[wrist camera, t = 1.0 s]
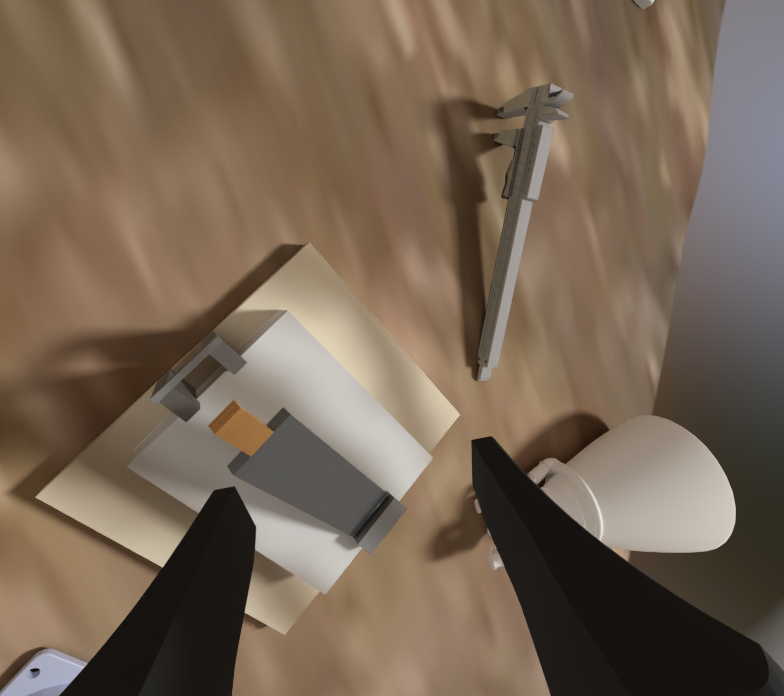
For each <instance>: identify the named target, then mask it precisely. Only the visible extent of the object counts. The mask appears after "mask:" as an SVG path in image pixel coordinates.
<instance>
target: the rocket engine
mask: <svg viewBox="0 0 784 696" xmlns="http://www.w3.org/2000/svg"><path fill="white" fill-rule="evenodd" d="M527 475H528V477H529V478H530V479H531V480H532V481H533V482H534V483H535V484H538V483H539V482H540V481H541V480H542V479H543V478H544V477H545V484H544V486H543V487H541V489H542V490H543V491H544V492H545V493H546V494H547V495H548V496H549V497H550V498H551V499H552V500H553V501H554V502H555V503H556V504H557V505H558V506H560V507H561V508H562V509H563V510H564V511H565V512H566V513H567V514H568V515H570V516H571V517H572V518H573V519H574V520H575V521H577V522H578V523H579V524H580V525H581V526H582V527H584V528H585V529H586V530H587V531H588V532H590V533H591V534H592V535H593V536H595V537H596V538H597V539H598V540H600V541H601V542H602V543H603V544H605V545H606V546H607V547H609V548H615V549H623V550H634V551H647V552H701V551H708V550H712V549H715V548H718V547H719V546H721V545H722V544H724V543H725V542H726V541H727V539H728V538H729V537H730V535H731V534H732V531H733V527H734V524H735V511H736V507H735V502H734V497H733V492H732V489H731V487H730V484H729V482H728V479H727V477H726V475H725V473H724V471H723V470H722V468H721V466H720V464H719V463H718V461H717V460H716V459H715V457H714V456H713V455H712V453H711V452H710V451H709V450H708V448H707V447H706V446H705V445H704V444H703V443H702V442H701V441H700V440H699V439H697V438H696V437H695V436H694V435H693V434H692V433H690V432H689V431H687V430H686V429H685V428H683V427H682V426H680V425H678V424H676V423H674V422H672V421H670V420H667V419H664V418H661V417H658V416H650V415H644V416H637V417H634V418H632V419H629V420H627V421H625V422H623V423H621V424H619V425H618V426H616V427H614V428H613V429H611V430H609V431H608V432H606V433H605V434H603V435H602V436H600V437H599V438H597V439H596V440H595V441H593V442H592V443H591V444H589V445H588V446H587V447H585V448H584V449H583V450H582V451H580V452H579V453H578V454H577V455H576V456H574V457H573V458H572V459H571V460H570V461H569V462H567V463H566V464H564V463H561V462H560V461H559V460H557V459H555V458H547V459H544V460H543V461H540V462H539V465H537V466H536V467H534V468H533V469H532V470H531V471H530V472H529V473H528V474H527ZM476 498H477V497H476ZM474 503H475V508H476V510H477V512H478V513H479V514H480V513H482V512H481V509H480V506H479V503H478V500H477V499H475V500H474ZM487 533H488V535H489V536H491V534H490V532H489V530H488V528H487ZM493 547H494V548H495V546H493V545H492V547H491V549H490V550H491V552H492V548H493ZM495 549H497V548H495ZM489 552H490V551H489ZM489 552H488V553H487V560H488V563H489V566H490V567H491V569H492V570H494V569H495V570H496V569H497V567H498V568H499V567H501V566H504V564H503V562H502V560H501V557H500V555H499V553H498V552H497V553H494V554H491V552H490V554H489Z"/></svg>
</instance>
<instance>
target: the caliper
mask: <svg viewBox="0 0 784 696" xmlns="http://www.w3.org/2000/svg"><path fill="white" fill-rule="evenodd" d="M561 89H562V88H560V87H558V86H555V85H553V84H546V85H542V86H538V87H534V88H529V89H527V90H526V91H524V92H522V93H521V94H519V95H517V96H516V97H514V98H513V99H511V100H509V101H508V102H506V103H505V104H503V105H502V106H500V108H499V109H498V111H497V116H499V117H502V118H505V119H508V118H512V117H517V116H523V115H525V120H524V125H523V128H521V129H512V130H506V131H501V132H500V133H495V136H494V141H495V142H498V143H501V144H504V145H507V146H509V147H512V148H515V152H514V157H513V160H511V163H510V165H509V168H508V170H507V173H506V177H505V187H504V189H503V192H502V198H503V199H507V200H508V203H507V209H506V214H505V219H504V224H503V229H502V234H501V239H500V244H499V249H498V254H497V259H496V264H495V269H494V274H493V279H492V284H491V289H490V294H489V299H488V304H487V308H486V313H485V318H484V323H483V328H482V333H481V338H480V343H479V353H478V364H480V365H479V370H478V374H477V381H486V380H488V379H489V378H490V376H491V372H492V368H495V367H497V366H498V361H499V357H500V352H501V347H502V343H503V338H504V334H505V329H506V325H507V320H508V315H509V311H510V306H511V301H512V297H513V292H514V287H515V283H516V278H517V273H518V269H519V264H520V259H521V255H522V250H523V245H524V241H525V236H526V232H527V227H528V222H529V218H530V213H531V208H532V204H533V202H535V201H537V200H538V197H539V193H540V188H541V184H542V179H543V175H544V171H545V166H546V162H547V158H548V153H549V149H550V145H551V140H552V136H553V128H551V127H549V124H550V123H552V122H553V121H554V120H563V119H567V118H569V116H568V115H567V114H566V113H564V112H562V111H560V110H558V109H556V108H560V107H562V106H563V105H565V104H566V103H567V102H569V101H570V100H571V99H572V98H573V96H574V94H572V93H570V92H567V91H565V90H561Z"/></svg>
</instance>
